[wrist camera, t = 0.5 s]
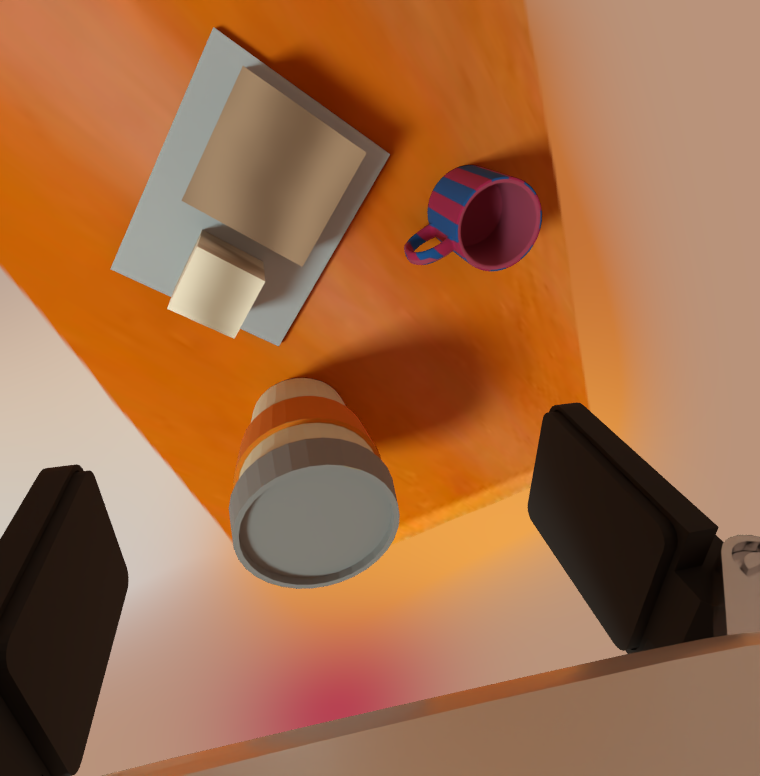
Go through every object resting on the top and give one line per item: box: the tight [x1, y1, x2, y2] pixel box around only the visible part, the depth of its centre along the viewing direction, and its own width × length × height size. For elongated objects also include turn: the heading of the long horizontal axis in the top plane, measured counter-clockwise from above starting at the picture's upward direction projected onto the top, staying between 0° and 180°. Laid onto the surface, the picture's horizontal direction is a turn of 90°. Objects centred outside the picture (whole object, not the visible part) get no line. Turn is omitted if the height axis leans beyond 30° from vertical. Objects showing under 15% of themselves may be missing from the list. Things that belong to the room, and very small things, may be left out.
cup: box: [404, 165, 542, 271], centre depth 40 cm, size 7×10×7 cm
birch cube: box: [167, 229, 265, 338], centre depth 38 cm, size 5×5×5 cm
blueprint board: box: [111, 27, 390, 346], centre depth 39 cm, size 14×18×1 cm
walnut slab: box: [182, 66, 366, 267], centre depth 35 cm, size 9×9×4 cm
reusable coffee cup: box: [229, 378, 399, 589], centre depth 43 cm, size 13×12×15 cm
